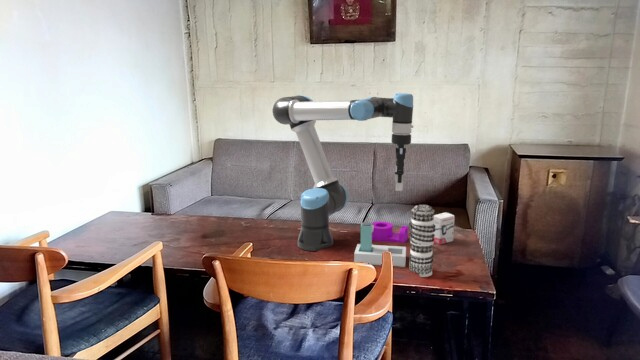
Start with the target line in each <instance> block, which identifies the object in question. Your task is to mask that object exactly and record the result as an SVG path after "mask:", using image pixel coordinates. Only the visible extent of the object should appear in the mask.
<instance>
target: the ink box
mask: <svg viewBox="0 0 640 360" xmlns="http://www.w3.org/2000/svg"><path fill="white" fill-rule="evenodd" d="M455 219H456V218H455V215H454V214H452V213H450V212H447V211H446V212H442V213H438V214H434V225H435V228H434V229H435V232H433V234H434V235H435V236H434V237H433V238H434V244H437V245H439V246H441V245H443V244H446V243H450V242H453V241H454V233H455V231H454V230H455Z"/></svg>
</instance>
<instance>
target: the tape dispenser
mask: <svg viewBox="0 0 640 360" xmlns="http://www.w3.org/2000/svg"><path fill="white" fill-rule="evenodd" d="M371 223H372V225H374V230H373V232H372V240H373V241H372V242H384V243H386V242H387V243H403V244H406V242H407V241H408V239H409V226H407V225H402V227H400V228H399V231H398V232H394V231H393V229H394V228H393V227H394V225H393V224H392V223H391V222H387V221H374V222H371Z"/></svg>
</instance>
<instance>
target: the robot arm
mask: <svg viewBox="0 0 640 360" xmlns="http://www.w3.org/2000/svg"><path fill="white" fill-rule="evenodd" d="M413 113H414V96H413V94H411V93H404V92H398V93H397V92H396V93H394V95H393V97H391V98H390V97H377V96H372V97H371V96H369V97H366V98H365V99H353V100H352V99H344V100H343V99H342V100H318V101H316V100H314V101H313V99H311V98H310V97H309V96H307V95H301V94H299V95H297V94H296V95H294V96H283V97H281V98H279V99H277V100H276V101H275V102H274V104H273V107H272V115H273V118H274V119H275V120H276V122H278V124H279V123H280V124H282V125H289V127H290V130H291V131H292V132H294V133H295V134H296V136H297V139H298V141H299V145H300V147H301V150H302V153H303V156H304V157H305V161H306V163H307V166H308V168H309V171H310V174H311V176H312V179H313V181H314V185H313V187H312V188H310V189H306V190H305V191H303V192H302V193H301V195H300V218H301V219H300V220H301V222H300V223H301V224H300V225H301V227H300V232H299V234H298V236H297V237H298V238H297V247H299V248H300V249H301V250H304V251H309V252H310V251H311V252H319V250H322V249H327V248H330V247H331V246H333V244H334V237H333V234H332V232H331V229H330V216H331V215H333V214H335V213H337V212H338V213H339V212H340V211H342V210H343V208H345V207H346V206H347V204H348V201H349V192H348V191H347V188H345V186H344V185H342V184H340V182H339V179H338V178H337V177H335V176H333V173H332V170H331V167H330V165H329V162H328V159H327V157H326V155H325V152H324V149H323V146H322V143H321V141H320V137H319V135H318V133H317V132H318V131H317V129H316V127H315V125H316V122H317V121H361V122H364V121H369V120H371V119H375V118H389V119H390V118H392V122H391V124H392V125H391V133H392V134H391V143H392V144H393V145H397V147H395V159H396V161H395V172H394V175H395V177H394V179H395V180H394V181H395V190H394V191H395V192H396V191H398V192H403V189H404V188H403V187H404V174H405V172H404V171H405V170H404V169H405V159H406V153H407V147H405V146H406V145H410V144H412V134H411V133H412V129H413V128H414V125H413Z"/></svg>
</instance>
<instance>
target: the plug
mask: <svg viewBox="0 0 640 360" xmlns="http://www.w3.org/2000/svg"><path fill="white" fill-rule="evenodd" d="M372 223H373V222H365V221H363V222H361V224H360V244H361V250H360V251H361V252H372V245H373V241H372V232H373V230H374V225H372Z"/></svg>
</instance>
